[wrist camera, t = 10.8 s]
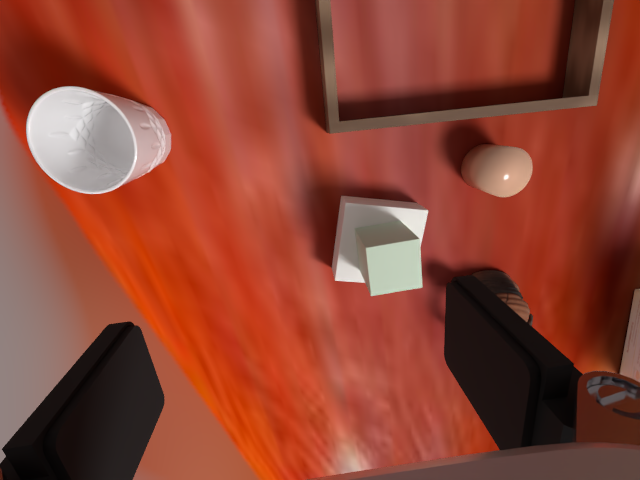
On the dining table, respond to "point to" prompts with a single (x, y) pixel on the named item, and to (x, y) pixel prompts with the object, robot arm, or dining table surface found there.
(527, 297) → the dining table surface
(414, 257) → the green block
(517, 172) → the glossy beige egg
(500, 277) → the pottery mug
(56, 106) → the white cup
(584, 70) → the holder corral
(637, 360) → the coffeecake box
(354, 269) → the base slab
